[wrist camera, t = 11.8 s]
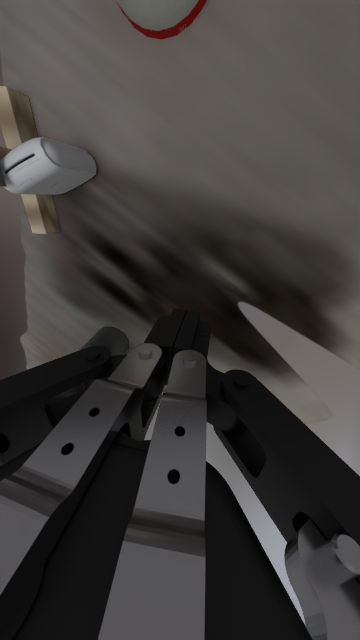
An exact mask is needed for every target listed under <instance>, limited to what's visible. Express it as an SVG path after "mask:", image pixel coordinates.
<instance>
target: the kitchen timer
mask: <svg viewBox="0 0 360 640" xmlns="http://www.w3.org/2000/svg"><path fill="white" fill-rule="evenodd" d="M116 1H117V3H118V5H119V7H120V8H121V10H122V12H123V13H124V15H125V16H126V17H127V19H128V20H129V21H130V23H131V24H132V25H133V27H134V28H136V29H137V30H138V31H140V32H141V33H143V34H144V35H146V36H147V37H152V38H157V39H165V38H168V37H172V36H175V35H177V34H179V33H180V32H181V31H182V30H184V29H185V28H186V27H188V26H189V25H190V24H191V23H192V22H193V20H194V19H195V18H196V16H197V15H198V13H199V12H200V11H201V9H202V8H203V6H204V4H205V2H206V0H116Z"/></svg>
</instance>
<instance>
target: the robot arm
mask: <svg viewBox="0 0 360 640" xmlns="http://www.w3.org/2000/svg"><path fill="white" fill-rule="evenodd" d="M210 333H211V326H210V324H209V322H208V321H201V320H200V312H198V311H191V310H183V309H175V308H174V309H173V311H172V313H171V315H170V316H162V317H161V318H159V319H158V320H157V321H156V323H155V325H154V326H153V328H152V330H151V331H150V333H149V335H148V336H147V338H146V340H145V341H144V343H143V344H139V345H136V346H135V347H133V348H132V349H131V350H130V352H129V353H128V354H125V353H126V352H127V350H128V348H129V342H128V340H127V338H126V336H125V335H124V334H123V333H122V332H121V331H119V330H117V329H115V328H112V327H104V328H102V329H100V330H99V331H98V332H97V333H96V334H95V335H94V336H93V337H92V338H91V339H90V340H89V341H88V342H87V343H86V344H85V345H84V346H83V347H82V348H81V349H80V350H79V351H77V352H74V353H72V354H69V355H66V356H63V357H61V358H58V359H55V360H53V361H50V362H47V363H45V364H42V365H39V366H37V367H34V368H31V369H29V370H26V371H23V372H20V373H18V374H15V375H13V376H10V377H7V378H5V379H2V380H0V640H360V476H359V475H358V474H356V472H355V471H353V470H352V469H351V468H350V467H349V466H348V465H347V464H346V463H345V462H344V461H343V460H342V459H341V458H339V456H337V455H336V454H335V453H334V452H333V451H332V450H331V449H330V448H329V447H328V446H327V445H326V444H325V443H324V442H323V441H322V440H321V439H320V438H319V437H318V436H317V435H315V434H314V433H313V432H312V431H311V430H310V429H309V428H308V427H307V426H306V425H305V424H304V423H303V422H302V421H301V420H300V419H299V418H298V417H296V416H295V415H294V414H293V413H292V412H291V411H290V410H289V409H288V408H287V407H286V406H285V405H284V404H283V403H282V402H281V401H280V400H279V399H277V398H276V397H275V396H274V395H273V394H272V393H271V392H270V391H269V390H268V389H267V388H266V387H265V386H264V385H263V384H262V383H261V382H260V381H258V380H257V379H256V378H255V377H254V376H253V375H252V374H250V373H248V372H246V371H243V370H230V371H227V372H226V373H225V374H224V373H222V372H220V371H218V370H216V369H214V368H213V367H212V366H211V365H210V364H209V362H208V360H207V354H208V347H209V340H210ZM165 385H167V389H166V392H165V393H163V395H162V391H163V388H164V386H165ZM160 400H161V402H160ZM159 403H160V406H159V410H158V414H157V418H156V422H155V426H154V430H153V434H152V438H151V440H144V439H145V435H146V432H147V430H148V428H149V425H150V423H151V421H152V419H153V416H154V414H155V412H156V410H157V407H158V405H159ZM206 421H207V422H208V423H210V424H212V425H213V427H214V430H215V432H216V434H217V435H218V437H219V438H220V440H221V441H222V443H223V445H224V446H225V448H226V449H227V451H228V452H229V454H230V455H231V457H232V459H233V460H234V462H235V463H236V465H237V466H238V468H239V469H240V471H241V472H242V474H243V475H244V477H245V479H246V480H247V482H248V483H249V485H250V486H251V488H252V489H253V491H254V492H255V494H256V496H257V497H258V498H259V500H260V502H261V503H262V505H263V506H264V508H265V509H266V511H267V512H268V514H269V515H270V517H271V519H272V520H273V522H274V523H275V525H276V526H277V528H278V529H279V531H280V532H281V534H282V535H283V537H284V538H285V540H286V541H287V545H286V548H285V555H284V556H285V566H286V571H287V574H288V578H289V580H290V583H291V585H292V587H293V589H294V592H295V594H296V596H297V598H298V600H299V603H300V605H301V608H302V611H303V615H304V618H305V624H306V626H305V624H304V623H303V621H302V619H301V617H300V616H299V613H298V611H297V610H296V608H295V606H294V604H293V602H292V601H291V599H290V597H289V595H288V593H287V591H286V590H285V588H284V586H283V584H282V582H281V580H280V578H279V577H278V575H277V573H276V571H275V569H274V567H273V565H272V564H271V562H270V560H269V558H268V556H267V555H266V553H265V551H264V549H263V547H262V545H261V543H260V542H259V540H258V538H257V536H256V534H255V532H254V530H253V529H252V527H251V525H250V523H249V521H248V519H247V518H246V516H245V514H244V512H243V510H242V509H241V507H240V505H239V503H238V501H237V499H236V497H235V495H234V494H233V492H232V490H231V489H230V487H229V485H228V484H227V482H226V481H225V479H224V478H223V477H222V475H221V474H220V473H219V472H218V471H217V470H216V469H215V468H214V467H213V466H212V465H211V464H209V463H208V462H207V461H206Z"/></svg>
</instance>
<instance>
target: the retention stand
mask: <svg viewBox="0 0 360 640" xmlns="http://www.w3.org/2000/svg"><path fill="white" fill-rule="evenodd" d="M0 126H1V129H2V133H3V136H4V139H5V143H6V146H7V148H4V147H0V161H1V160H2V158H3V157H4V156H6V155H7V154H8V153H9V152H10V151H11V150H13V149H14V148H16V147H17V146H19V145H21V144H23V143H24V142H26V141H29V140H31V139H33V138H38V135H37V130H36V126H35V122H34V118H33V113H32V109H31V105H30V101H29V97H27V96H25V95H23V94H21V93H19V92H17V91H15V90H13V89H11V88H9V87H7V86H0ZM3 186H5V187H7V186H6V183H5V180H4V177H3V174H2V171H1V168H0V187H3ZM21 196H22V199H23V202H24V206H25V209H26V212H27V216H28V219H29V222H30V226H31V229H32V232H33V233H39V234H49V233H54V232H60V228H59V223H58V219H57V215H56V211H55V207H54V202H53V198H52V195H40V194H21Z"/></svg>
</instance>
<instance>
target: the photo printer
mask: <svg viewBox="0 0 360 640" xmlns="http://www.w3.org/2000/svg"><path fill="white" fill-rule="evenodd" d="M0 168H1V171H2V174H3V177H4V180H5V183H6V186H7V187H5V186H3V187H4V188H6V189H7V190H9V191H10V192H13V193H16V194H40V195H58V194H63V193H65V192H68V191H70V190H72V189H74V188H76V187H78V186H79V185H81V184H83V183H85V182H86V181H88V180H90V179H91V178H93V177H94V176H95V175H96V163H95V161H94V159H93V157H92V156H91V155H90V154H88V153H87V151H86V150H84V149H81V148H78V147H74V146H71V145H68V144H65V143H62V142H59V141H56V140H53V139H50V138H46V137H39V138H33V139H31V140H29V141H26V142H24V143H23V144H21V145H19V146H17V147H16V148H14V149H13V150H11V151H10V152H9V153H8V154H7V155H6V156H4V157H3V158H2V160H1V161H0Z"/></svg>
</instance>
